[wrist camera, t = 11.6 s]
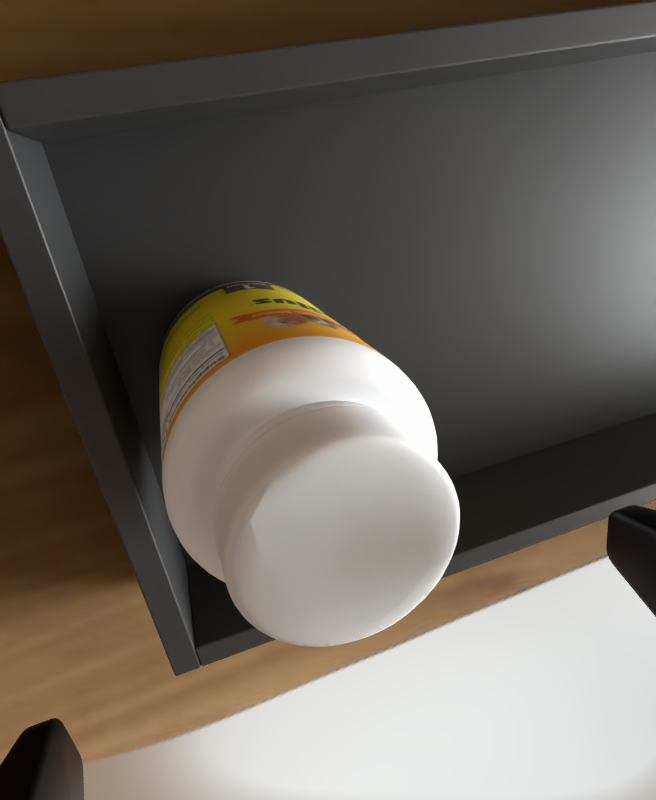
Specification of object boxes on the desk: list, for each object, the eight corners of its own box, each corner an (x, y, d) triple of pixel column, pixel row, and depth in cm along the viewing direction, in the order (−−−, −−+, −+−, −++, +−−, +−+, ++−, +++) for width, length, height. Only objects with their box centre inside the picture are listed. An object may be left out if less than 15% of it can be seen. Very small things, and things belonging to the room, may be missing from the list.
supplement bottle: (360, 342, 18) (564, 495, 9) (262, 466, 19) (365, 723, 10) (227, 236, 16) (332, 306, 7) (119, 383, 17) (85, 625, 7)
